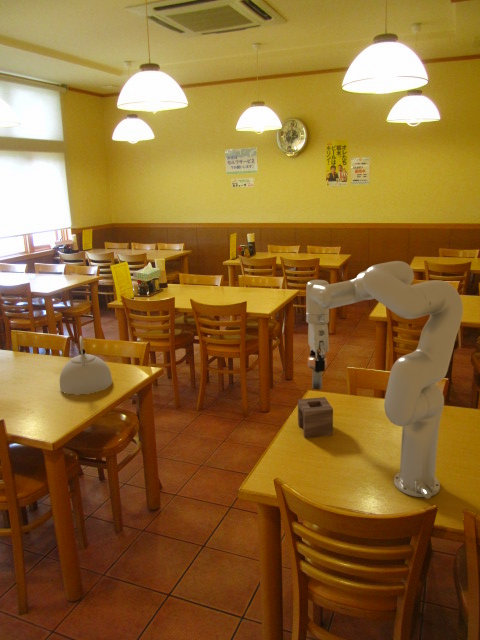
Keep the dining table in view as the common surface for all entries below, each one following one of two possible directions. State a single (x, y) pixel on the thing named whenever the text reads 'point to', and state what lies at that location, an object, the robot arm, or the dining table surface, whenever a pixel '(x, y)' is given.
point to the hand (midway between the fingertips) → (317, 367)
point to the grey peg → (316, 375)
